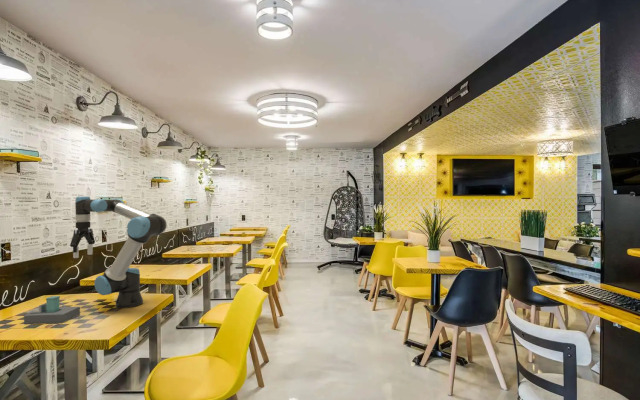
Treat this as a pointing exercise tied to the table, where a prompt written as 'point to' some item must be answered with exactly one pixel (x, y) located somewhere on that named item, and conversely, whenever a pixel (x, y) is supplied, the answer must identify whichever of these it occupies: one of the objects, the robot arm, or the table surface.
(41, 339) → the table surface
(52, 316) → the socket
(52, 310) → the plug
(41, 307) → the shutter
